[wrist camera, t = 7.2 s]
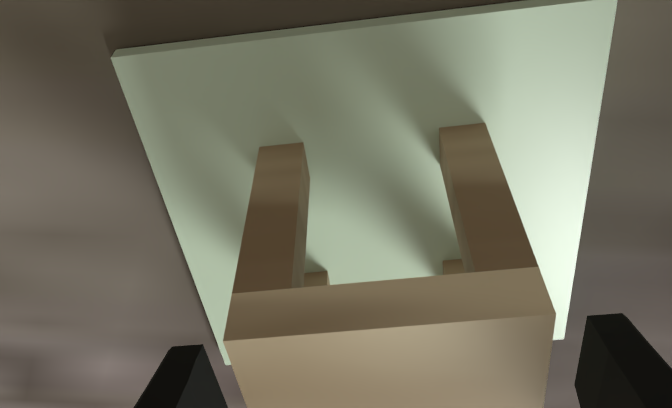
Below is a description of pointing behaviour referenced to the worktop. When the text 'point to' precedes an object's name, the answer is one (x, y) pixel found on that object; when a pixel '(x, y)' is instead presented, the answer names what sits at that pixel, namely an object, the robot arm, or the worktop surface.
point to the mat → (376, 134)
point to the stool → (391, 302)
